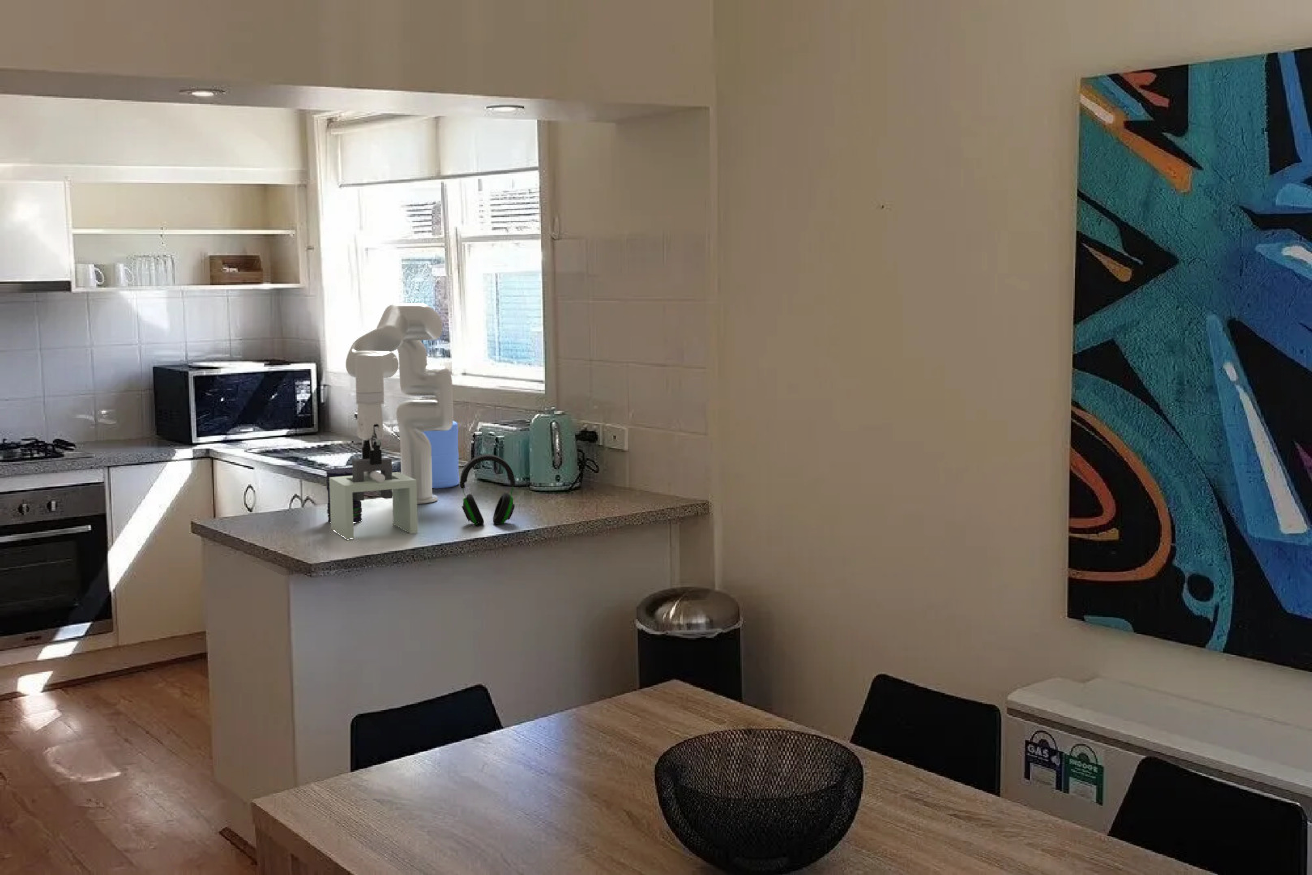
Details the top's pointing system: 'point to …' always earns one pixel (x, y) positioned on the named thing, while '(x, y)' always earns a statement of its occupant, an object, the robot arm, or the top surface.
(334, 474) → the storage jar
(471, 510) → the headphones
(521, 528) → the top surface
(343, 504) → the shelf
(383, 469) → the grey bridge arch
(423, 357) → the robot arm
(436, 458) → the light blue cylinder
